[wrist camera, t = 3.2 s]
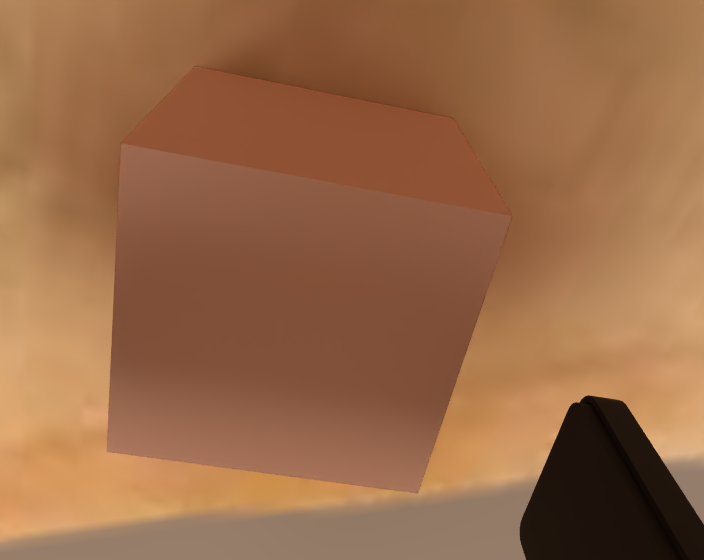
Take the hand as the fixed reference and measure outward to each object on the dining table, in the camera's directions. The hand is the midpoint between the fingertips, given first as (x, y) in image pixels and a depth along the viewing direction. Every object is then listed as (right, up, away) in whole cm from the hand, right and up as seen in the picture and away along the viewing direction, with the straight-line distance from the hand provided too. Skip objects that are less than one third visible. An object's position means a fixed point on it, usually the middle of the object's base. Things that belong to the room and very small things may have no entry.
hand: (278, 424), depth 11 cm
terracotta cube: (0, +4, +6) cm, 7 cm away
